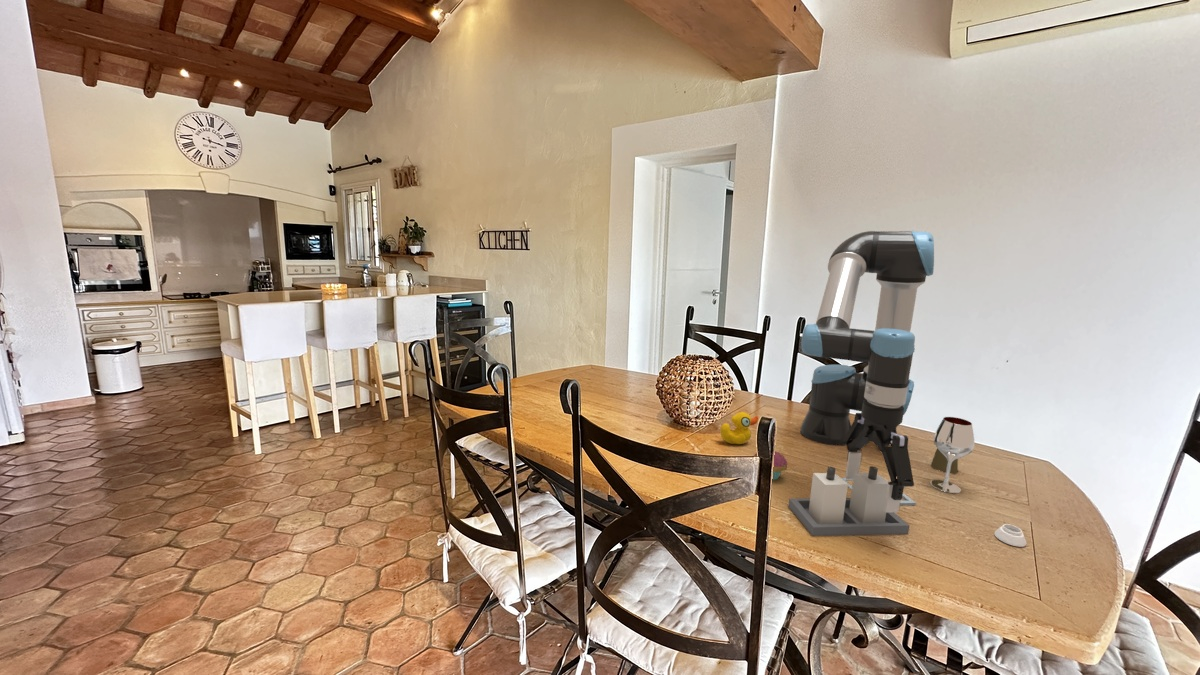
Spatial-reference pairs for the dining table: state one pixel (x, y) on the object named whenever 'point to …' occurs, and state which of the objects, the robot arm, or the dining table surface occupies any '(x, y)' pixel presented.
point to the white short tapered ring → (1011, 535)
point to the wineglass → (952, 447)
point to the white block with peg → (868, 497)
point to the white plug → (827, 497)
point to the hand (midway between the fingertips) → (869, 493)
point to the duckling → (738, 428)
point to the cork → (943, 463)
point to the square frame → (905, 497)
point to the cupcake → (778, 464)
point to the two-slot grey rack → (846, 522)
